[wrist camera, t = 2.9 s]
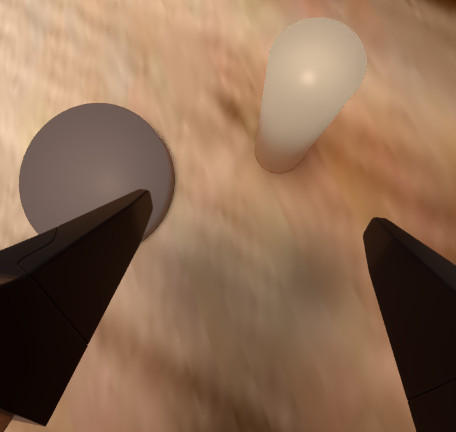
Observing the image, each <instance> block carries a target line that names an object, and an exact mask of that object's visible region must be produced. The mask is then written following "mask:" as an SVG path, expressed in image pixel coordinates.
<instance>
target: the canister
mask: <svg viewBox="0 0 456 432" xmlns="http://www.w3.org/2000/svg"><path fill="white" fill-rule="evenodd" d="M366 67H367V58H366V52H365V48H364V46H363V44H362V42H361V40H360V38H359V37H358V36H357V34H356V33H355V32H354V31H353V30H352V29H350V28H349V27H348V26H346V25H345V24H343V23H341V22H339V21H336V20H333V19H330V18H323V17H314V18H307V19H303V20H300V21H297V22H295V23H293V24H291V25H290V26H288V27H287V28H286V29H284V30H283V31H282V32H281V33H280V34H279V35H278V37H277V38H276V39H275V41H274V43H273V45H272V47H271V49H270V52H269V57H268V63H267V70H266V77H265V84H264V90H263V97H262V104H261V111H260V117H259V124H258V131H257V138H256V144H255V156H256V159H257V161H258V163H259V164H260V165H261V166H262V167H263V168H264V169H266V170H267V171H269V172H272V173H285V172H288V171H290V170H292V169H293V168H294V167H296V165H297V164H298V163H299V162H300V161H301V159H302V158H303V157H304V156H305V154H306V153H307V152H308V151H309V149H310V148H311V147H312V146H313V144H314V143H315V142H316V141H317V139H318V138H319V137H320V135H321V134H322V133H323V132H324V130H325V129H326V128H327V127H328V125H329V124H330V123H331V122H332V120H333V119H334V118H335V117H336V115H337V114H338V113H339V112H340V110H341V109H342V108H343V107H344V105H345V104H346V103H347V102H348V100H349V99H350V98H351V96H352V95H353V94H354V93H355V91H356V90H357V89H358V87H359V86H360V85H361V83H362V81H363V78H364V76H365V72H366Z"/></svg>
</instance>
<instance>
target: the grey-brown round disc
mask: <svg viewBox="0 0 456 432" xmlns="http://www.w3.org/2000/svg"><path fill="white" fill-rule="evenodd" d="M174 183H175V181H174V168H173V163H172V160H171V156H170V154H169V152H168V149H167V147H166V146H165V144H164V142H163V141H162V139H161V138H160V137H159V136H158V135H157V133H156V132H155V131H154V130H153V129H152V128H151V126H150V125H149V124H148V123H147V122H146V121H145V120H143V119H142V118H141V117H140V116H138V115H137V114H135V113H134V112H132V111H130V110H128V109H126V108H123V107H120V106H117V105H112V104H107V103H91V104H84V105H80V106H76V107H73V108H70V109H68V110H66V111H64V112H62V113H60V114H58V115H57V116H55V117H54V118H52V119H51V120H50V121H49V122H48V123H46V124H45V125H44V126H43V127H42V128H41V129H40V131H39V132H38V133H37V134H36V136H35V137H34V138H33V140H32V141H31V143H30V145H29V147H28V148H27V151H26V153H25V155H24V158H23V161H22V165H21V169H20V176H19V192H20V199H21V203H22V207H23V209H24V212H25V215H26V217H27V219H28V220H29V222H30V224H31V225H32V227H33V228H34V229H35V231H36V232H37V233H38V234H41V233H44V232H46V231H48V230H50V229H52V228H54V227H58V226H59V225H61V224H63V223H66V222H68V221H70V220H72V219H74V218H76V217H79V216H81V215H83V214H85V213H87V212H90V211H92V210H94V209H96V208H98V207H100V206H103V205H105V204H107V203H109V202H111V201H114V200H116V199H118V198H120V197H122V196H124V195H127V194H129V193H131V192H133V191H135V190H138V189H146V190H149V191H150V193H151V198H152V203H153V211H152V214H151V217H150V219H149V222H148V225H147V228H146V230H145V233H144V236H143V238H142V241H143V240H144V239H145V238H147V237H148V236H149V235H150V234H151V233H152V232H153V231H154V230H155V229H156V228H157V227H158V226H159V224H160V223H161V221H162V220H163V218H164V217H165V215H166V213H167V211H168V209H169V206H170V203H171V200H172V196H173V192H174Z"/></svg>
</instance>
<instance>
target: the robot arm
mask: <svg viewBox="0 0 456 432" xmlns="http://www.w3.org/2000/svg"><path fill="white" fill-rule="evenodd" d="M152 211H153V203H152V198H151V193H150V191H149V190H146V189H138V190H135V191H133V192H131V193H129V194H127V195H124V196H122V197H120V198H118V199H116V200H114V201H111V202H109V203H107V204H105V205H103V206H100V207H98V208H96V209H94V210H92V211H90V212H87V213H85V214H83V215H81V216H79V217H76V218H74V219H72V220H70V221H68V222H66V223H63V224H61V225H59V226H58V227H54V228H52V229H50V230H48V231H46V232H44V233H41V234H39V235H37V236H34V237H32V238H30V239H27V240H25V241H23V242H20V243H18V244H15V245H13V246H10V247H8V248H5V249H3V250H0V432H4V431H5V429H6V428H7V426H8V424H9V423H10V421H11V420H15V421H20V422H25V423H30V424H35V425H39V426H46V425H47V423H48V421H49V420H50V418H51V416H52V414H53V412H54V410H55V408H56V406H57V404H58V402H59V400H60V398H61V396H62V395H63V393H64V391H65V389H66V387H67V385H68V383H69V381H70V379H71V377H72V375H73V373H74V371H75V369H76V367H77V365H78V363H79V362H80V360H81V358H82V356H83V354H84V352H85V350H86V348H87V346H88V345H87V344H89V342H90V340H91V338H92V336H93V334H94V332H95V330H96V328H97V326H98V324H99V322H100V320H101V318H102V317H103V315H104V313H105V311H106V309H107V307H108V305H109V303H110V301H111V299H112V297H113V295H114V293H115V291H116V289H117V287H118V285H119V284H120V282H121V280H122V278H123V276H124V274H125V272H126V270H127V268H128V266H129V264H130V262H131V260H132V258H133V256H134V254H135V252H136V251H137V249H138V247H139V245H140V243H141V241H142V238H143V236H144V233H145V230H146V228H147V225H148V222H149V219H150V217H151V214H152ZM363 240H364V246H365V252H366V258H367V264H368V269H369V274H370V277H371V281H372V284H373V287H374V291H375V294H376V297H377V301H378V304H379V307H380V311H381V314H382V317H383V321H384V324H385V327H386V331H387V334H388V337H389V341H390V344H391V347H392V351H393V354H394V357H395V361H396V364H397V367H398V371H399V374H400V377H401V381H402V384H403V387H404V391H405V394H406V397H407V400H408V405H409V408H410V411H411V415H412V418H413V421H414V425H415V428H416V431H417V432H456V265H454V264H453V263H451V262H450V261H449V260H447V259H446V258H444V257H443V256H441V255H440V254H438V253H437V252H435V251H434V250H432V249H431V248H429V247H428V246H426V245H425V244H423V243H422V242H420V241H419V240H417V239H416V238H414V237H413V236H411V235H410V234H408V233H407V232H405V231H404V230H402V229H401V228H399V227H398V226H396V225H395V224H393V223H392V222H391V221H389V220H388V219H386V218H379V217H374V218H373V219H372V220H371V221H370V223H369V225H368V226H367V228H366V230H365V231H364V234H363Z"/></svg>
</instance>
